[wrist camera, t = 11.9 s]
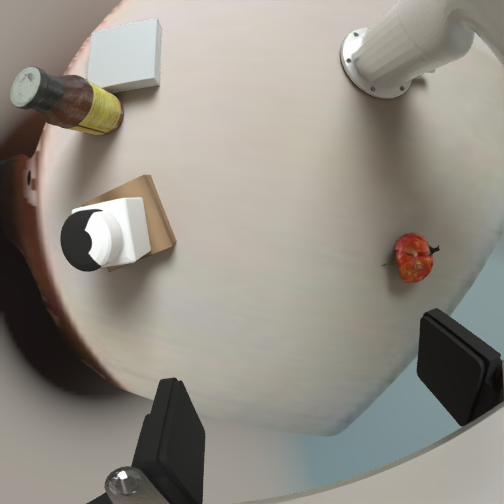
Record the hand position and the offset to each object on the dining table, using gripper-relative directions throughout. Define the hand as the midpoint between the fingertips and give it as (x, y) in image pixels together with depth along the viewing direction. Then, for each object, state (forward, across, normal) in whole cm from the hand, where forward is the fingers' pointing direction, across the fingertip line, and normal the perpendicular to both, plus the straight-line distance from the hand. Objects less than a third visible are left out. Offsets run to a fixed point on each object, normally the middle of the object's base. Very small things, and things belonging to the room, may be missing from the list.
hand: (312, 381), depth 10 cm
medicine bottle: (+30, +16, -5) cm, 34 cm away
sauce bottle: (+34, +17, -21) cm, 43 cm away
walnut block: (+34, +16, -5) cm, 38 cm away
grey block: (+34, +12, -29) cm, 46 cm away
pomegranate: (+34, -23, +9) cm, 42 cm away
